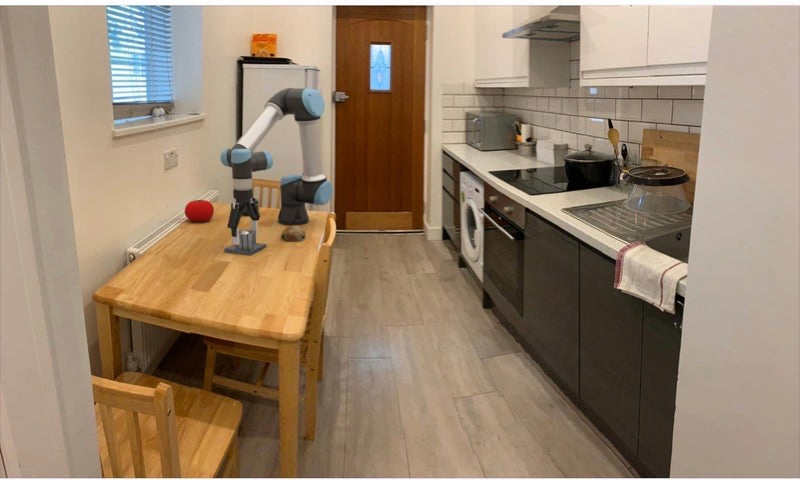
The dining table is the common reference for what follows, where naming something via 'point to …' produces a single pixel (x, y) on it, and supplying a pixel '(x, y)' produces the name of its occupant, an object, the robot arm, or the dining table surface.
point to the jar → (256, 205)
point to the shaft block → (245, 251)
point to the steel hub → (247, 240)
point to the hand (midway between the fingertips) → (245, 239)
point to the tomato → (199, 210)
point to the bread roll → (293, 234)
